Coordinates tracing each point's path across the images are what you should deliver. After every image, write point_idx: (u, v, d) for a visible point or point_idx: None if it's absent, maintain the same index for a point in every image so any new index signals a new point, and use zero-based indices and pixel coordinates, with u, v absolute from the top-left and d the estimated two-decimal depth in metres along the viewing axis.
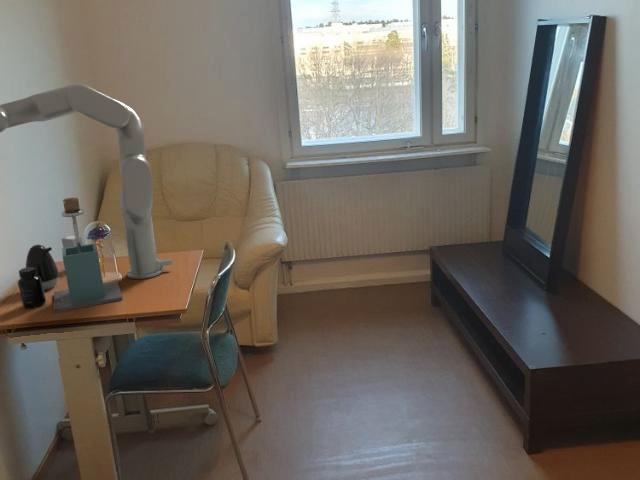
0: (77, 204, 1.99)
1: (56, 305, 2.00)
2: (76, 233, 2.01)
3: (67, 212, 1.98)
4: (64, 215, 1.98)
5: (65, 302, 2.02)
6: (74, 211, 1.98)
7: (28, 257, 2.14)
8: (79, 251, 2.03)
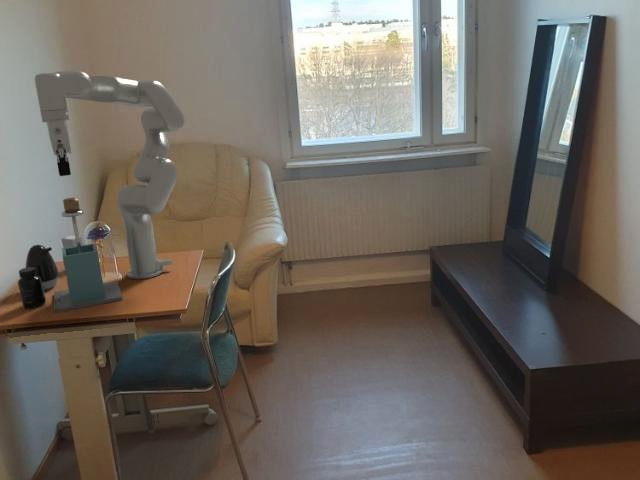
0: (77, 204, 1.99)
1: (56, 305, 2.00)
2: (76, 233, 2.01)
3: (67, 212, 1.98)
4: (64, 215, 1.98)
5: (65, 302, 2.02)
6: (74, 211, 1.98)
7: (28, 257, 2.14)
8: (79, 251, 2.03)
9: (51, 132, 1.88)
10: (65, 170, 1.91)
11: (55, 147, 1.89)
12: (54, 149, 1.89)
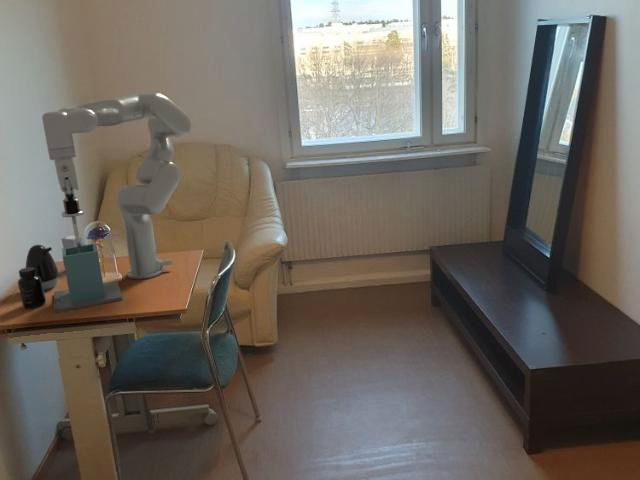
0: (77, 204, 1.99)
1: (56, 305, 2.00)
2: (76, 233, 2.01)
3: None
4: (64, 215, 1.98)
5: (65, 302, 2.02)
6: None
7: (28, 257, 2.14)
8: (79, 251, 2.03)
9: (58, 170, 1.91)
10: (73, 209, 1.97)
11: (62, 184, 1.92)
12: (61, 186, 1.93)
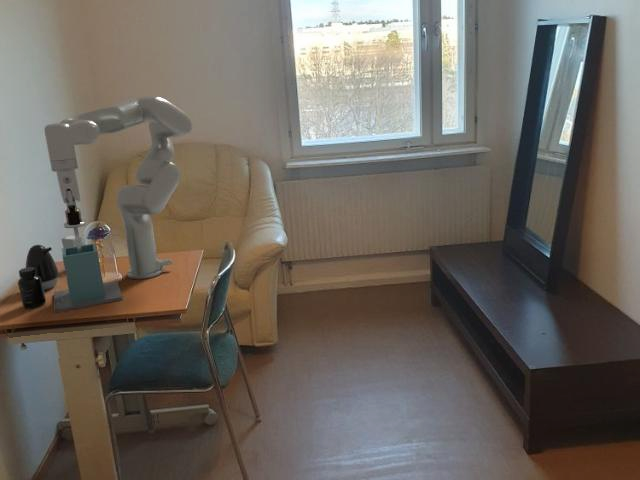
0: (79, 215, 2.00)
1: (56, 305, 2.00)
2: (78, 244, 2.02)
3: None
4: (66, 226, 1.99)
5: (65, 302, 2.02)
6: None
7: (28, 257, 2.14)
8: None
9: (61, 181, 1.92)
10: (75, 220, 1.98)
11: (65, 196, 1.93)
12: (64, 198, 1.94)
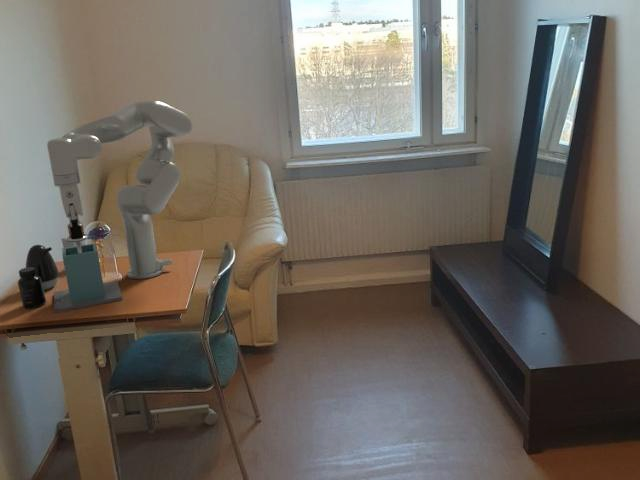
0: (81, 229, 2.01)
1: (56, 305, 2.00)
2: None
3: None
4: (69, 240, 2.00)
5: (65, 302, 2.02)
6: None
7: (28, 257, 2.14)
8: None
9: (63, 196, 1.94)
10: (77, 234, 1.99)
11: (67, 210, 1.95)
12: (66, 212, 1.95)
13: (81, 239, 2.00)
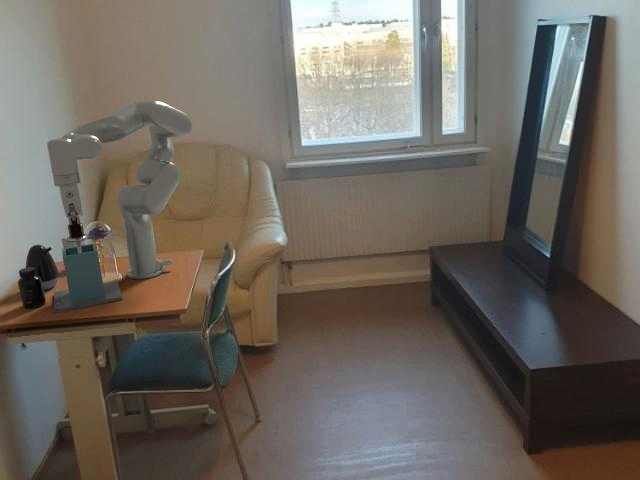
0: (81, 229, 2.01)
1: (56, 305, 2.00)
2: None
3: None
4: (69, 240, 2.00)
5: (65, 302, 2.02)
6: None
7: (28, 257, 2.14)
8: None
9: (63, 196, 1.94)
10: (77, 232, 1.96)
11: (67, 210, 1.95)
12: (66, 212, 1.95)
13: (81, 239, 2.00)
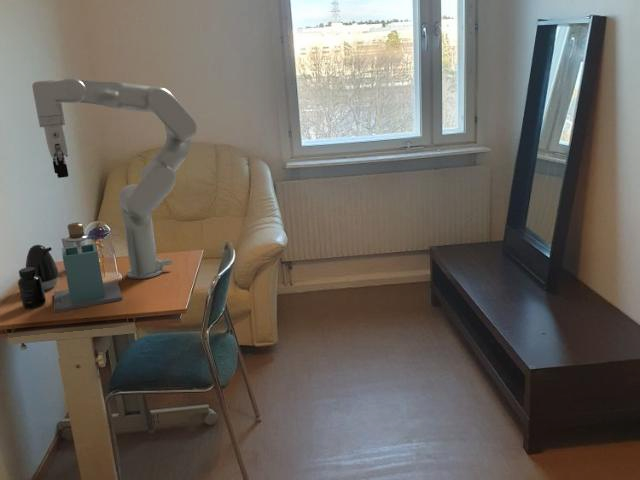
0: (81, 229, 2.01)
1: (56, 305, 2.00)
2: None
3: (72, 237, 2.00)
4: (69, 240, 2.00)
5: (65, 302, 2.02)
6: (79, 236, 2.01)
7: (28, 257, 2.14)
8: None
9: (49, 136, 1.99)
10: (63, 172, 2.02)
11: (53, 150, 2.00)
12: (52, 152, 2.00)
13: (81, 239, 2.00)
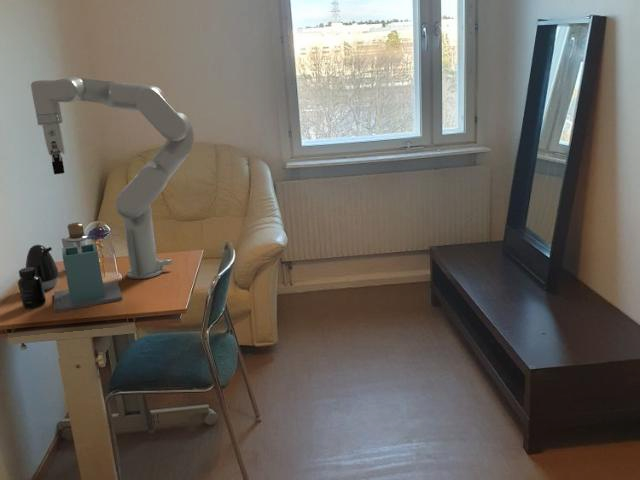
0: (81, 229, 2.01)
1: (56, 305, 2.00)
2: None
3: (72, 237, 2.00)
4: (69, 240, 2.00)
5: (65, 302, 2.02)
6: (79, 236, 2.01)
7: (28, 257, 2.14)
8: None
9: (46, 134, 2.06)
10: (59, 169, 2.09)
11: (50, 148, 2.07)
12: (49, 150, 2.07)
13: (81, 239, 2.00)
